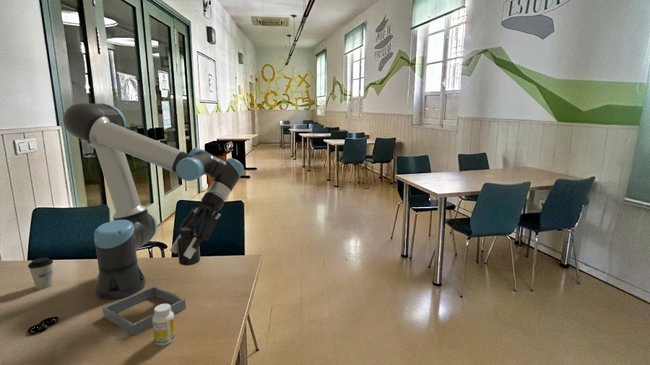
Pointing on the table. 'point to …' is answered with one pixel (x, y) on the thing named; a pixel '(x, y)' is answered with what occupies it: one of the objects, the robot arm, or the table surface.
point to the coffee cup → (42, 272)
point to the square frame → (145, 323)
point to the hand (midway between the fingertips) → (179, 254)
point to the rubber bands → (43, 326)
